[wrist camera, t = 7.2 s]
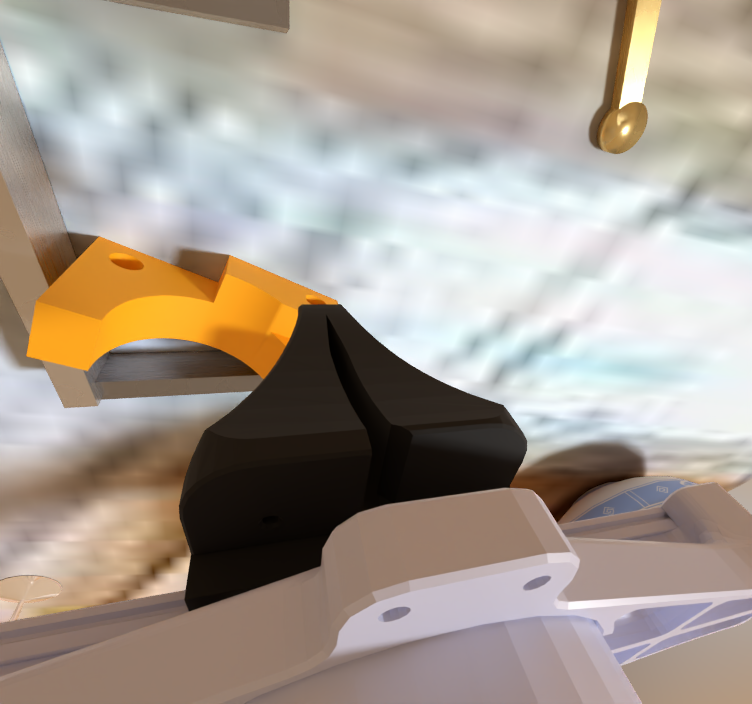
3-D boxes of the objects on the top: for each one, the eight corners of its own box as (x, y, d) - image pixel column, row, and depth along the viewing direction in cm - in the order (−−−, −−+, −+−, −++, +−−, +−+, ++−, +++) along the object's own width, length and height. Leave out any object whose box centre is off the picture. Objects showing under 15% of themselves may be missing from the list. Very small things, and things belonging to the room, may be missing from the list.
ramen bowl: (709, 406, 41) (790, 469, 35) (673, 501, 55) (725, 558, 49) (495, 493, 42) (536, 570, 35) (514, 565, 56) (545, 628, 50)
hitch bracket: (289, 363, 25) (291, 394, 22) (86, 371, 22) (64, 407, 20) (286, -8, 14) (289, -21, 12) (-103, -88, 11) (-196, -127, 9)
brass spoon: (630, 144, 21) (641, 146, 21) (591, 156, 21) (600, 159, 21) (661, -11, 17) (676, -14, 17) (612, 3, 17) (625, 1, 17)
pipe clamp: (336, 299, 23) (356, 365, 18) (305, 352, 25) (314, 425, 20) (108, 202, 17) (43, 257, 12) (89, 279, 19) (26, 356, 14)
